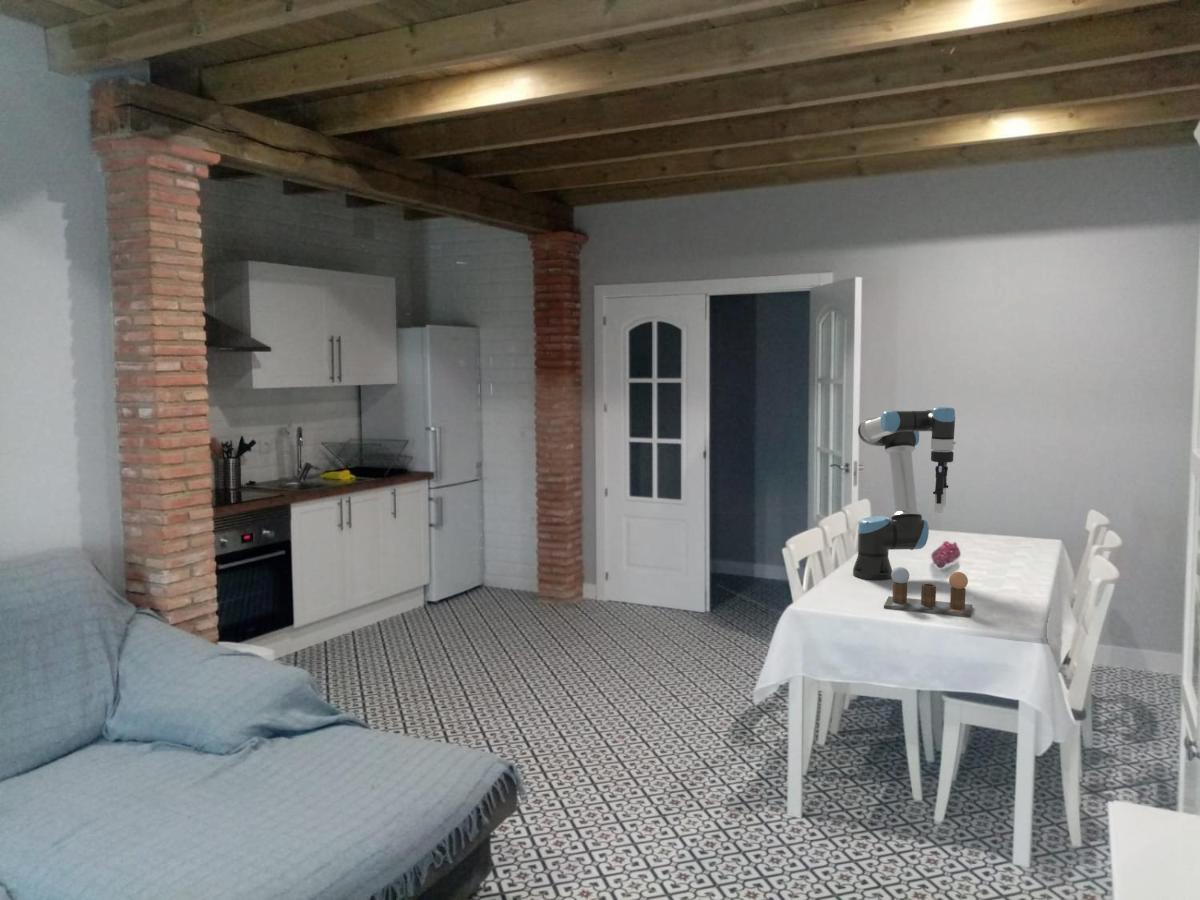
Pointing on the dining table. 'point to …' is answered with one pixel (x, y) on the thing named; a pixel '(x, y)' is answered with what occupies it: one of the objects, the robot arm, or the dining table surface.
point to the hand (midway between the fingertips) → (940, 509)
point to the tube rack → (929, 601)
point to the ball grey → (900, 575)
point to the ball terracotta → (958, 580)
